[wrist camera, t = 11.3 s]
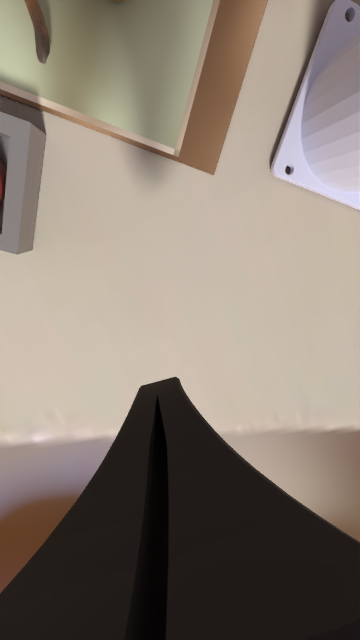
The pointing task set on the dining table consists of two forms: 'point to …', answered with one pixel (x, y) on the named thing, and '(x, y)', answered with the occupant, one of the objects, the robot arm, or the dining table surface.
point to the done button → (2, 182)
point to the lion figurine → (40, 29)
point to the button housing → (20, 182)
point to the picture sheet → (136, 68)
